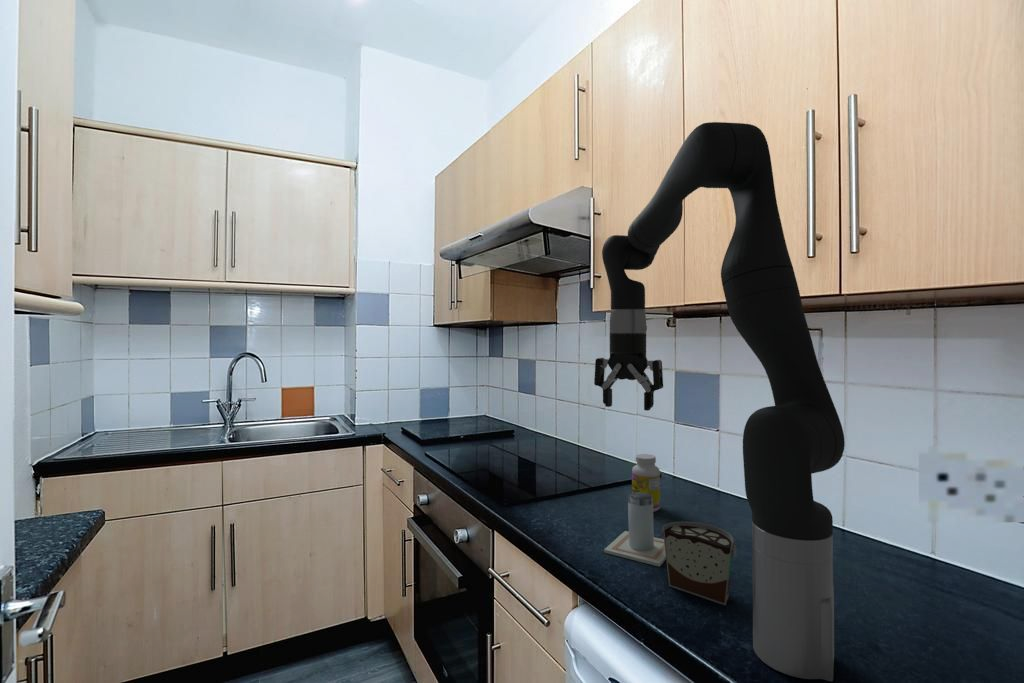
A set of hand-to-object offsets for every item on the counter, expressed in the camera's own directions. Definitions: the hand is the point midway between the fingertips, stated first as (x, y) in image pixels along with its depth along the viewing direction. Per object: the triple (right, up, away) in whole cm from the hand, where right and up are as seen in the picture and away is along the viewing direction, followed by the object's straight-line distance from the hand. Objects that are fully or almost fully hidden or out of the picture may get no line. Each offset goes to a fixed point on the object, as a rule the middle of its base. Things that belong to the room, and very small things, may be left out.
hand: (627, 408), depth 104 cm
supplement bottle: (+8, -27, +17) cm, 33 cm away
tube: (+1, -27, -6) cm, 27 cm away
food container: (+8, -28, -21) cm, 36 cm away
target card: (+1, -27, -6) cm, 28 cm away
